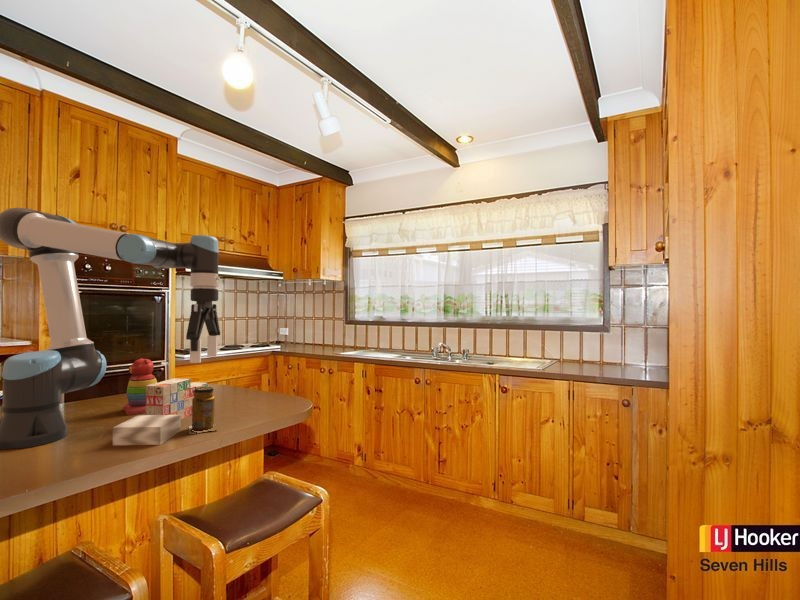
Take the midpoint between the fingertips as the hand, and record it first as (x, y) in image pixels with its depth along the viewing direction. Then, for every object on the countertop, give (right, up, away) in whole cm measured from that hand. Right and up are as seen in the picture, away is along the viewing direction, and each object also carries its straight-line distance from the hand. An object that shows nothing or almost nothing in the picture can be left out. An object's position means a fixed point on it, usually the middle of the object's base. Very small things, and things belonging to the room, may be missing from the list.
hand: (204, 359), depth 125 cm
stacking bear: (-32, -21, +21) cm, 43 cm away
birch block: (-12, -21, -8) cm, 25 cm away
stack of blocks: (-15, -21, +14) cm, 29 cm away
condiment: (0, -21, 0) cm, 21 cm away
